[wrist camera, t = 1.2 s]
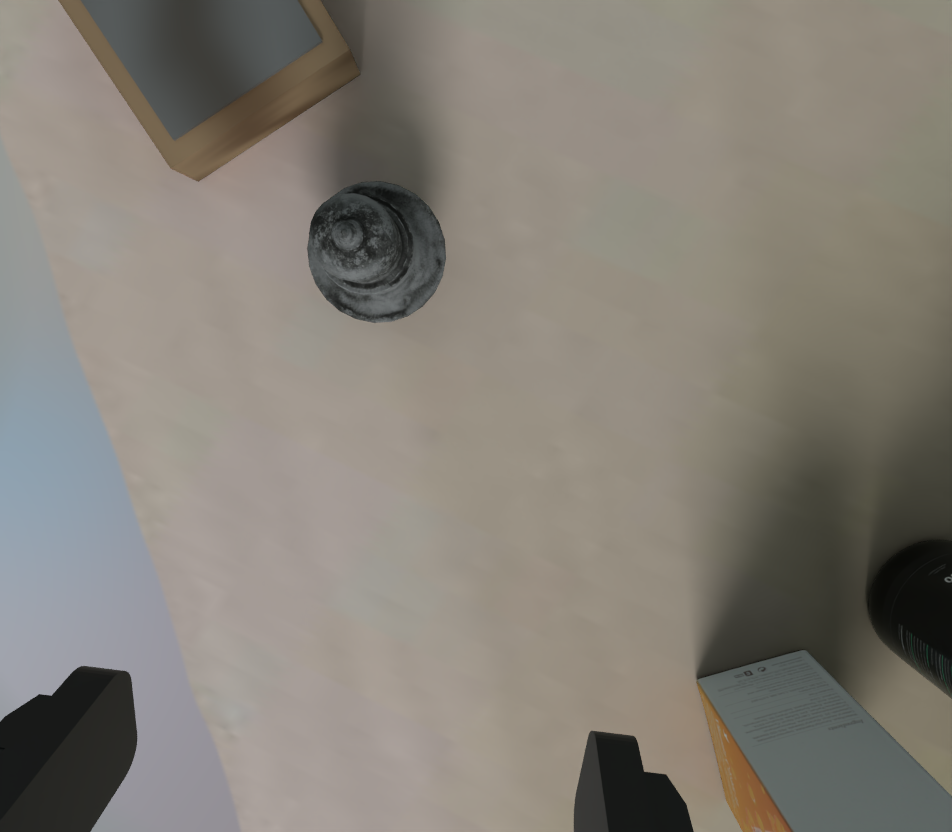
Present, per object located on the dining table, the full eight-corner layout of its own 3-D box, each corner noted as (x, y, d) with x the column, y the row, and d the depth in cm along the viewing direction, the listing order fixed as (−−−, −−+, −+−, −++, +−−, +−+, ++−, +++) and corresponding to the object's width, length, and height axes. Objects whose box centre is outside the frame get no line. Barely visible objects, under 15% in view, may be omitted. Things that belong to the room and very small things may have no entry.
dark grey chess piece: (403, 344, 32) (373, 367, 20) (300, 275, 32) (207, 258, 20) (470, 242, 31) (479, 205, 20) (366, 169, 31) (311, 85, 19)
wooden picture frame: (246, -116, 29) (220, -168, 26) (360, 74, 30) (349, 47, 27) (78, 0, 29) (32, -36, 26) (198, 181, 31) (168, 167, 27)
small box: (692, 677, 36) (825, 886, 23) (805, 645, 36) (1003, 838, 23) (723, 803, 37) (865, 1067, 24) (832, 773, 37) (1033, 1023, 24)
